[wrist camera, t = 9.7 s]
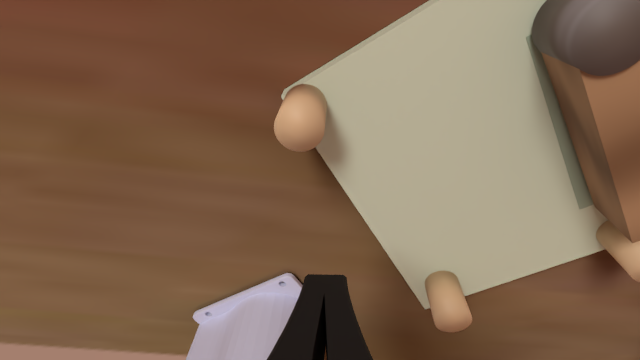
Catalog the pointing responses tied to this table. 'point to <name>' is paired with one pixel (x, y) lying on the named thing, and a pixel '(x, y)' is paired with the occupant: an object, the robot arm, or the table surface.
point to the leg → (599, 96)
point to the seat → (454, 151)
